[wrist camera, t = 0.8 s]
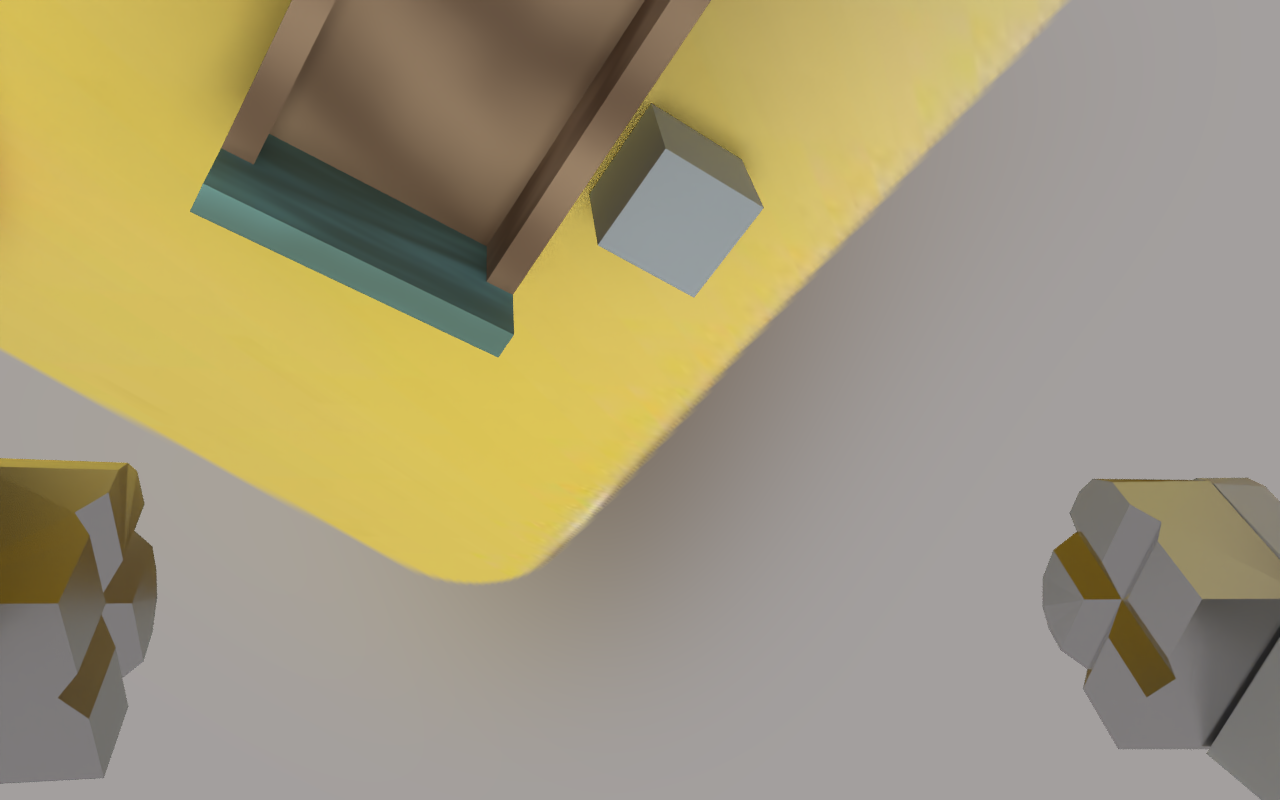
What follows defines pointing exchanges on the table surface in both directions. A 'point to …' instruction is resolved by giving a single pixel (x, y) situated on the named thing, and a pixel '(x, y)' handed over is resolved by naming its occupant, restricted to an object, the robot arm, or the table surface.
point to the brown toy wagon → (435, 141)
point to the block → (673, 202)
